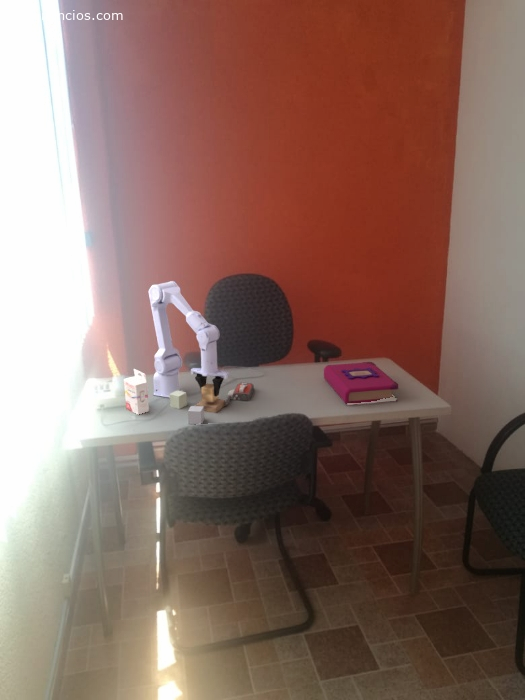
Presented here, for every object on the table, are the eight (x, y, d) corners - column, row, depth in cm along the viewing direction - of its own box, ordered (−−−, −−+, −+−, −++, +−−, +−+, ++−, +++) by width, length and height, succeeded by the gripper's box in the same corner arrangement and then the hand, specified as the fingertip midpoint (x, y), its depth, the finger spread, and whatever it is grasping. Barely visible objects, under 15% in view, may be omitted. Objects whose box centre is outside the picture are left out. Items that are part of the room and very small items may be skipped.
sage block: (169, 406, 206) (169, 394, 205) (177, 402, 210) (177, 390, 208) (179, 409, 204) (178, 396, 202) (187, 405, 207) (186, 392, 206)
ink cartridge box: (125, 408, 204) (122, 371, 200) (137, 404, 208) (134, 367, 203) (138, 415, 199) (134, 377, 194) (149, 411, 202) (146, 373, 197)
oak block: (201, 400, 203) (201, 387, 201) (207, 395, 207) (207, 383, 205) (212, 402, 201) (212, 389, 199) (218, 397, 205) (218, 385, 203)
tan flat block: (196, 410, 203) (195, 404, 202) (206, 402, 210) (206, 396, 209) (215, 414, 200) (215, 407, 200) (225, 405, 207) (225, 399, 207)
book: (345, 407, 205) (346, 388, 203) (323, 380, 231) (323, 363, 229) (398, 402, 209) (400, 383, 207) (371, 377, 235) (372, 360, 233)
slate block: (188, 424, 191) (187, 411, 190) (191, 418, 196) (191, 405, 194) (201, 424, 191) (200, 411, 189) (204, 419, 195) (203, 406, 194)
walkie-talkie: (233, 388, 224) (222, 408, 205) (233, 378, 223) (222, 397, 204) (255, 389, 223) (246, 409, 204) (254, 379, 221) (245, 398, 203)
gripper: (185, 360, 198) (187, 395, 203) (222, 365, 193) (223, 401, 197) (195, 354, 205) (196, 388, 209) (230, 359, 199) (231, 394, 204)
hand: (210, 394), depth 204 cm, fingers closed on oak block, 5 cm apart
